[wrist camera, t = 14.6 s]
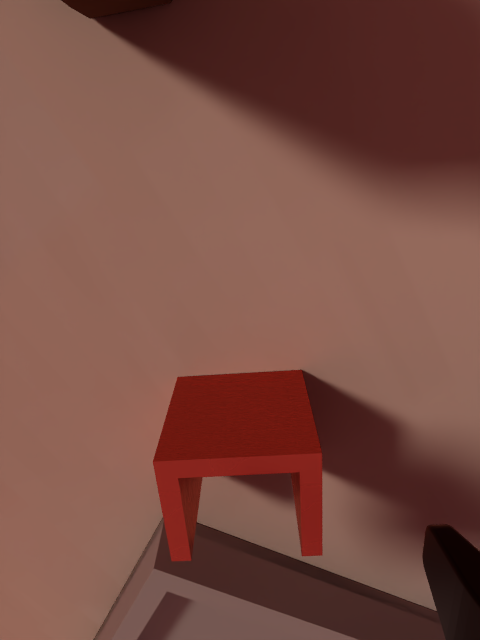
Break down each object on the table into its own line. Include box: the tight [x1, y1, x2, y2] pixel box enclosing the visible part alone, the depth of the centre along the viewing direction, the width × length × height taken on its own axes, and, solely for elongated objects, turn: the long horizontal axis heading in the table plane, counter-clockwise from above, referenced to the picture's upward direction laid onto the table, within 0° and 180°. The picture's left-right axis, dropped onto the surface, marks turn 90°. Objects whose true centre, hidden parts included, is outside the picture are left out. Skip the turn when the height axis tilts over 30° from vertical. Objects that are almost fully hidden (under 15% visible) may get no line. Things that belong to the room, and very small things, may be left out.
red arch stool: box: [153, 370, 322, 561], centre depth 19 cm, size 6×5×6 cm
